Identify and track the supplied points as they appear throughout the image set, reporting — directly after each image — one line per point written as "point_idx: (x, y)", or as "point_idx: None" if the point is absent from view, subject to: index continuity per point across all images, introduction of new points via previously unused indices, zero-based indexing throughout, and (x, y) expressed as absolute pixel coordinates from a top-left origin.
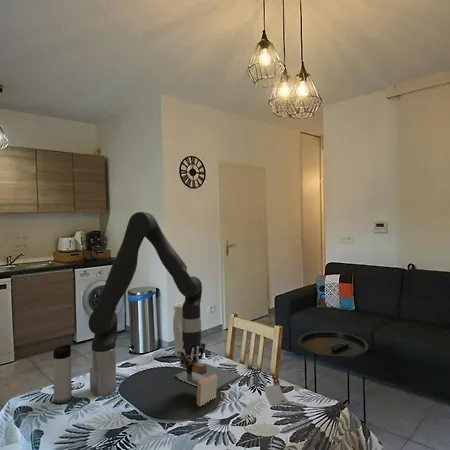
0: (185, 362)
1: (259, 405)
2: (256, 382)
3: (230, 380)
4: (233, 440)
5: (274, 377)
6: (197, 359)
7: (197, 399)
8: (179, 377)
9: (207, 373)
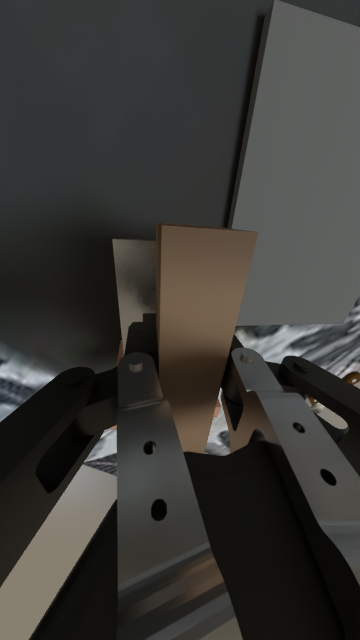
0: (55, 454)
1: (219, 419)
2: (318, 363)
3: (303, 323)
4: (88, 456)
5: (348, 382)
6: (233, 409)
7: (118, 358)
8: (117, 251)
9: (343, 209)
